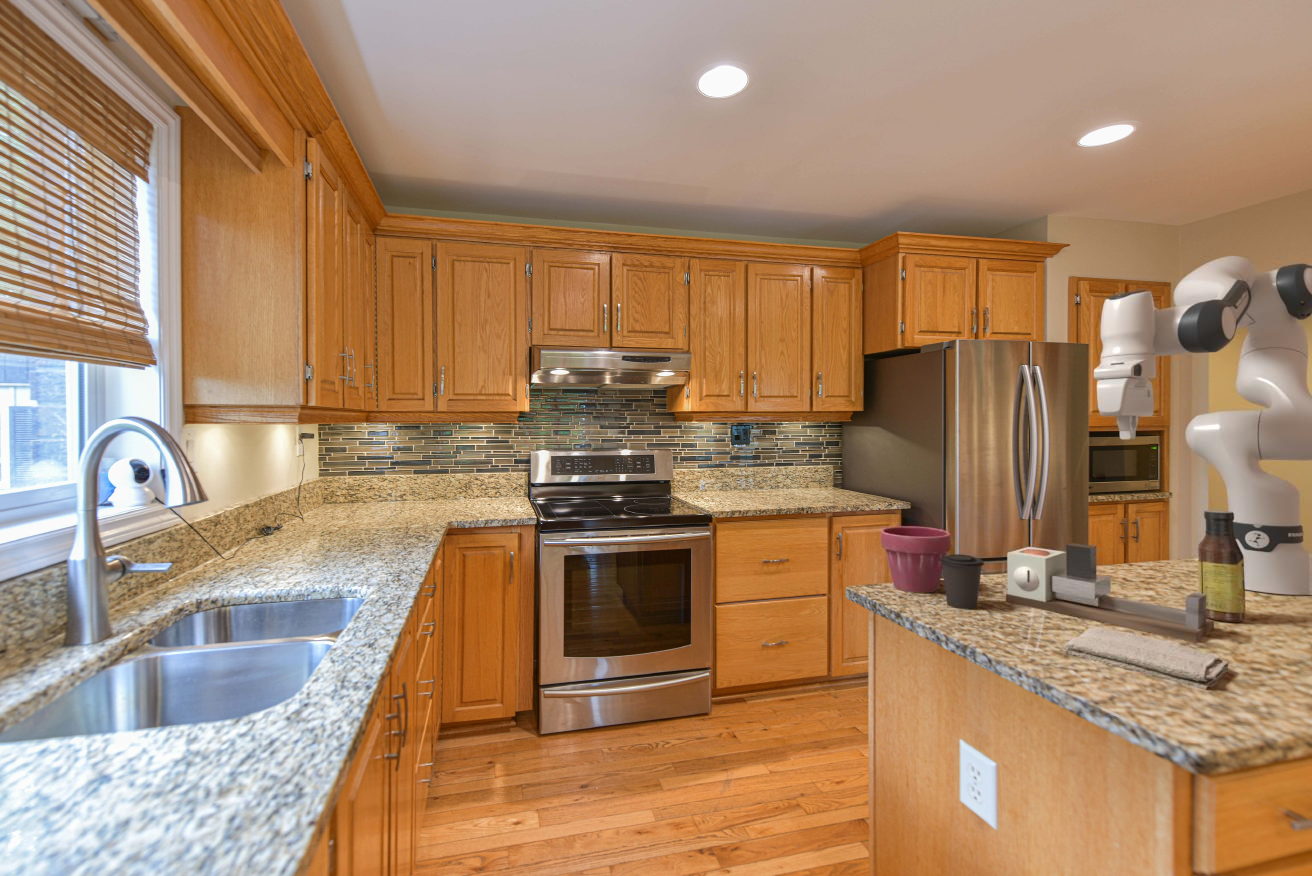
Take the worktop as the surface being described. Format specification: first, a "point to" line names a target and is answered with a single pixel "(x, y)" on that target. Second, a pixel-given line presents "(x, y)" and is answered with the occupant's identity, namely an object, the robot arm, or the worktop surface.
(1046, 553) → the plunger
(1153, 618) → the rail board
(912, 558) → the plant pot
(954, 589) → the coffee cup
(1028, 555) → the gauge cabinet
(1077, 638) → the washcloth
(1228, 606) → the sauce bottle
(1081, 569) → the carriage
